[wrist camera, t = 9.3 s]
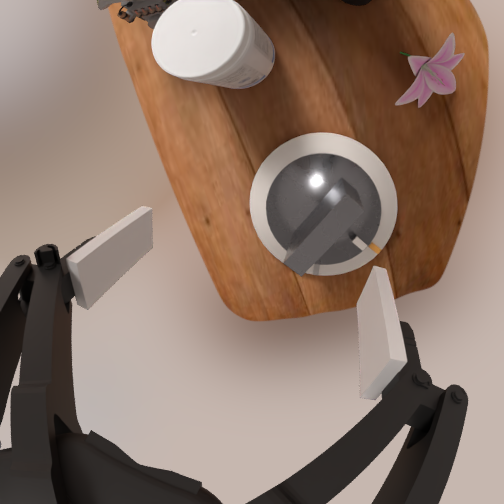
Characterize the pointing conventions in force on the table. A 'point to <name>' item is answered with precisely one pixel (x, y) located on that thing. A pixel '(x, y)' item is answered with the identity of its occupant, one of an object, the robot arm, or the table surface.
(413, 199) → the table surface
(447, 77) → the lily
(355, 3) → the cup
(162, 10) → the figurine
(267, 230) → the dial base
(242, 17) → the supplement tub
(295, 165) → the dial
